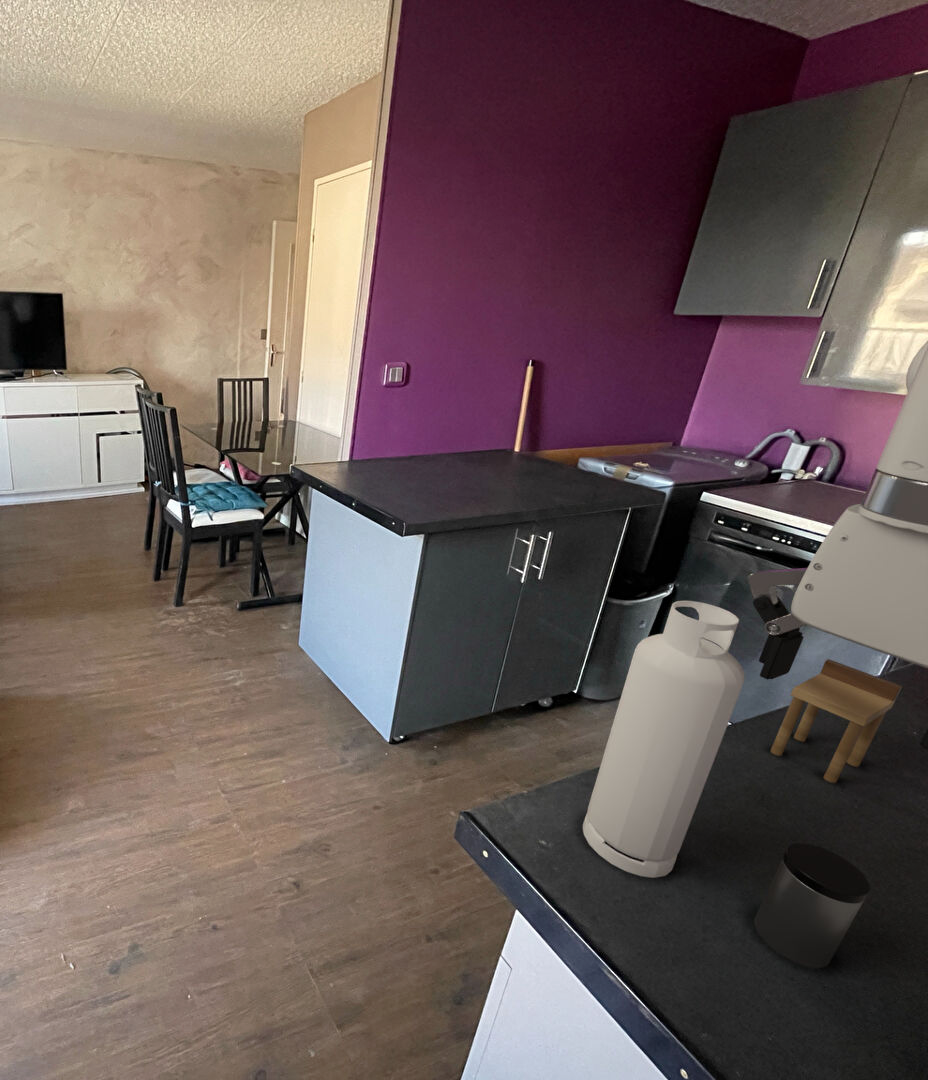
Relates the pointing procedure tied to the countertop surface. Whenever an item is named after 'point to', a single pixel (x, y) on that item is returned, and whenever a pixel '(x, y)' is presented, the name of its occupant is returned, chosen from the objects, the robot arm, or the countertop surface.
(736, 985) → the countertop surface
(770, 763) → the countertop surface
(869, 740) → the small wooden chair
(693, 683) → the bottle
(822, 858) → the canister
